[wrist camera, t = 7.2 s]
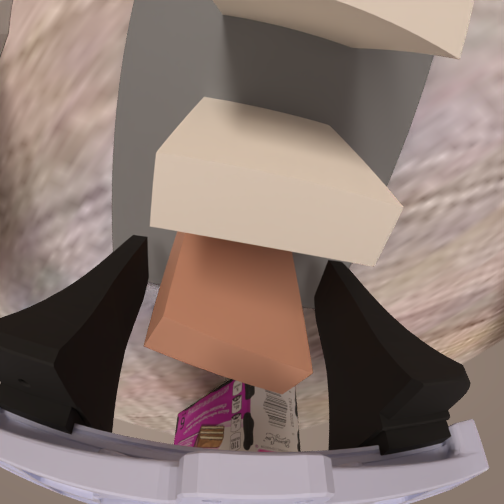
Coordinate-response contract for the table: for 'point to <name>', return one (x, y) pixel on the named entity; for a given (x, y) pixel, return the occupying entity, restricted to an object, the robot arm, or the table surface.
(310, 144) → the domino
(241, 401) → the candy bar box
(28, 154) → the table surface
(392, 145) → the slate mat
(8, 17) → the french press
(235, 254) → the domino
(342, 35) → the domino
